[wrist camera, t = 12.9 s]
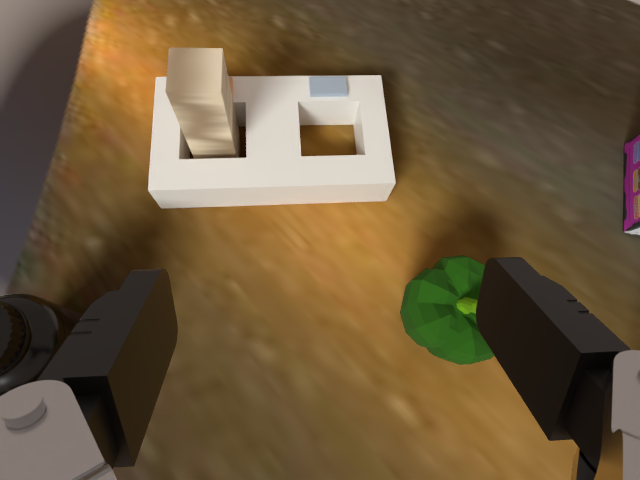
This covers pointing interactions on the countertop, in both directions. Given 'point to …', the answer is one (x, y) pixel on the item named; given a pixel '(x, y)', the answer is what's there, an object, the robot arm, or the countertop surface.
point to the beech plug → (203, 101)
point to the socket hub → (278, 146)
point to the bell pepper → (446, 310)
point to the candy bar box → (632, 186)
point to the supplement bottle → (30, 337)
